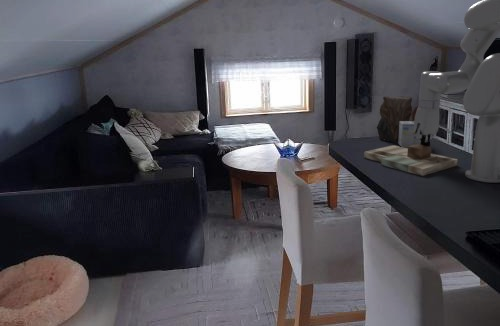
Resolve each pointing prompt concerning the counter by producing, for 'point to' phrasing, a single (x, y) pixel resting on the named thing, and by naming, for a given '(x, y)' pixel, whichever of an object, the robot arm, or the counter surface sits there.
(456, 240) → the counter surface
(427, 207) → the counter surface
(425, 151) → the walnut block
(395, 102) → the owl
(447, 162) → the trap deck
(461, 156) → the counter surface
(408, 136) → the light bulb box
